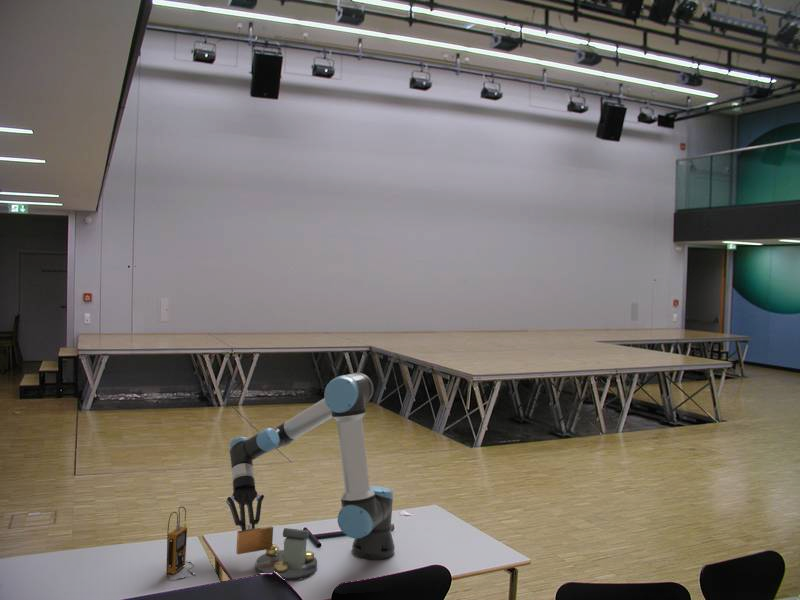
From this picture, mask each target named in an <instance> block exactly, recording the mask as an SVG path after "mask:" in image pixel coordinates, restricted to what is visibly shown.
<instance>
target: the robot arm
mask: <svg viewBox="0 0 800 600" xmlns="http://www.w3.org/2000/svg"><path fill="white" fill-rule="evenodd" d="M373 394H374V384H373V382H372V380H371V379H370V377H369V376H368V375H366V373H361V372H352V373H348V374H343V375H339V376H336V377H335V378H333V379H331V380H330V381H329V382H328V383H327V384H326V387H325V390H324V397H323V398H322V399H321V400H318V401H317V402H316V403H314V404H312V405H311V406H309V407H307V408H306V409H304V410H302V411H300V412H299V413H297V414H296V415H294V416H293V417H291V418H289V419H287V420H286V421H284V422H282V423H281V424H279V425H278V426H274V427H273V428H271V427H266V428H265V429H263V430H260V431H259V432H258V433H256V434H254V435H253V436H251V437H250V438H248V437H247V436H246V437H245V436H239V437H236V438H233V439H232V440H231V441H230V443H229V455H230V464H231V465H230V466H231V478H232V489H233V490H232V491H233V493H232V494H231V496H228V497H227V498H226V500H225V501H226V504H227V505H228V506H229V509H230V512H231V516H232V518H233V522H234V524H235V526H238V527H240V528H241V530H240V531H242V530H249V529H256V526H255V525H258V524H259V522H260V520H261V519H260V518H261V510H262V504H263V503H262V502H263V501H264V498H265V496H264V494H259V493H258V491H257V489H256V485H255V484H256V483H255V474H254V464H253V462H254V460H255V459H257V458H259V457H261V456H263V455H265V454H268V453H269V452H273V451H274V450H277V449H280V448H282V447H285V446H288V445H289V444H291V443H292V442H294V441H295V440H296V439H298V438H300V437H301V436H303V435H304V434H306V433H308V432H310V431H312V430H313V429H315V428H317V427H318V426H320V425H322V424H323V423H325V422H327V421H329V420H331V419H332V418H333V419H334V420H335V421H336V423H337V432H338V433H337V434H338V443H339V452H340V460H341V462H340V463H341V469H342V470H341V471H342V481H343V488H344V492H343V493H342V495H341V496H340V502H341V503H340V504H341V508H340V509H339V511H338V515H337V524H338V527H339V529H340V531H341V532H342V533H343V534H344V535H345V536H347V537H348V538H351V539H353V541H352V546H351V547H352V549H351V550H352V551H351V552H352V554H353V555H355V556H357V557H359V558H362V559H364V560H365V559H366V560H385V559H388V558H390V557H392V556H394V554H395V541H394V539H393V535H392V529H391V528H392V519H393V517H392V516H393V515H392V514H393V501H394V496H393V495H394V494H393V490H391V489H390V488H388V487H384V486H378V485H370V479H369V470H368V460H367V451H366V443H365V432H364V423H363V418H364V416H365V415H366V413H367V411H366V403H368V402H369V401H370V400H371V399H372V397H373ZM255 499H256V510H255V515H254V507H253V503H254V501H255ZM235 502H236V503H237V504H238V508H239V513H238V510H237V507H236V504H235ZM245 506H246V508H247V515H248V521H249V523H246V522H247V521H246V508H245Z"/></svg>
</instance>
